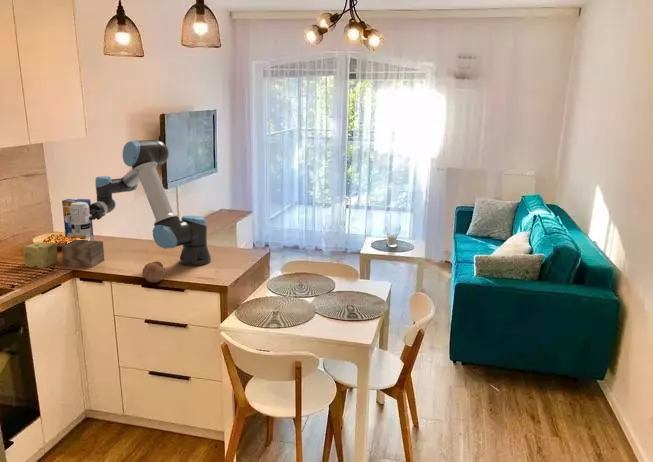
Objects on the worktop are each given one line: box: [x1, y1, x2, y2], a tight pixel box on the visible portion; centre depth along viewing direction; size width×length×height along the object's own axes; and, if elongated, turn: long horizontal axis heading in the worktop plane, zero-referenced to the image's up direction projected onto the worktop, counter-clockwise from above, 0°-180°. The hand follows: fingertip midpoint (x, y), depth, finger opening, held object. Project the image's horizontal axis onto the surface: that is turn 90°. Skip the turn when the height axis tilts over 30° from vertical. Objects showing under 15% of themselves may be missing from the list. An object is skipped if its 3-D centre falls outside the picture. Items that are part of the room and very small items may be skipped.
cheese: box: [22, 241, 58, 269], centre depth 247 cm, size 10×11×10 cm
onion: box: [142, 261, 166, 284], centre depth 229 cm, size 10×9×10 cm
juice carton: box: [61, 197, 95, 241], centre depth 284 cm, size 12×8×24 cm, turn 81°
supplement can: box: [70, 202, 91, 236], centre depth 246 cm, size 8×8×15 cm
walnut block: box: [61, 240, 105, 269], centre depth 250 cm, size 14×12×10 cm
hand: (75, 219), depth 242 cm, fingers closed on supplement can, 8 cm apart
